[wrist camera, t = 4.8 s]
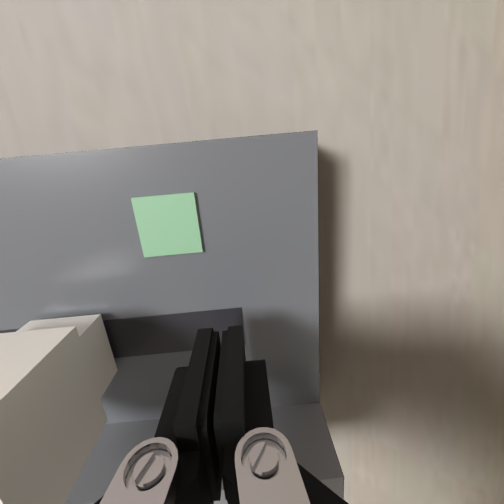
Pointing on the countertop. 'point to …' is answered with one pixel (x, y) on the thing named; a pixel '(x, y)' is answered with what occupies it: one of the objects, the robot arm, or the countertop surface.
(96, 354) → the knob
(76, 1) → the countertop surface
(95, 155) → the panel
